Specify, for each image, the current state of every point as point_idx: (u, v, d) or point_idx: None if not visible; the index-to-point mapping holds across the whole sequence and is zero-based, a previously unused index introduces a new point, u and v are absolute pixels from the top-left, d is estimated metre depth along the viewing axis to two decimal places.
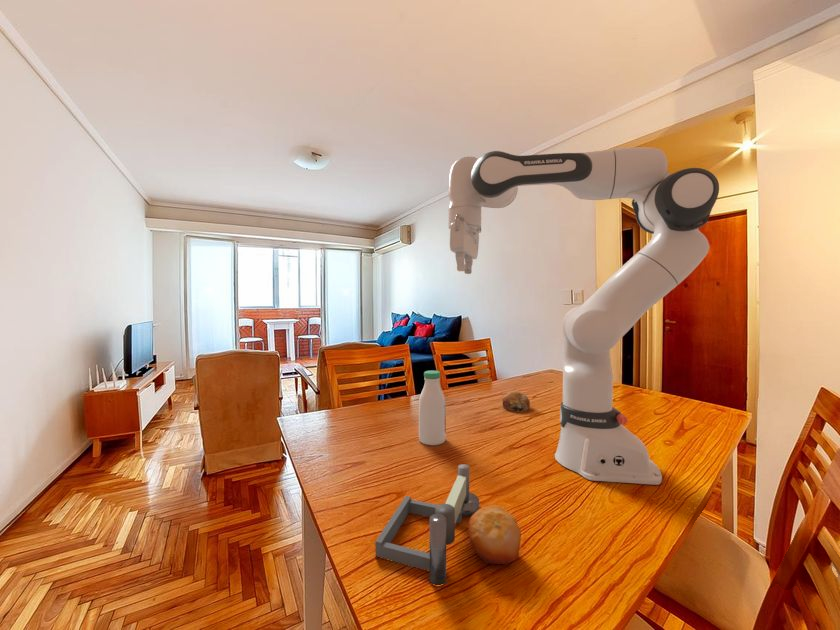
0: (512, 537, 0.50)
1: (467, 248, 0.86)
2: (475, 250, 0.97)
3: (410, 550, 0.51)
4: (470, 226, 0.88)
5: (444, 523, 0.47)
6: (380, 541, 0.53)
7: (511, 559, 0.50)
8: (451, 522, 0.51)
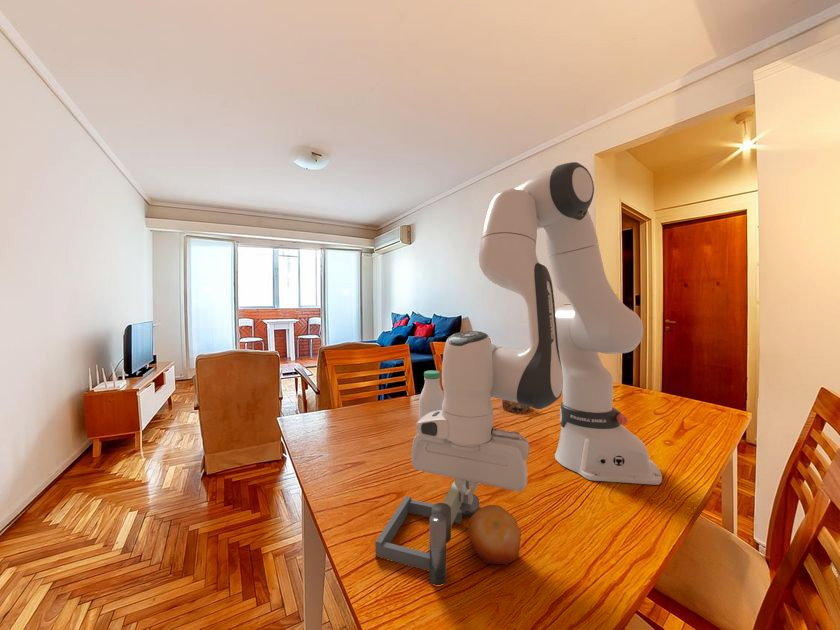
0: (512, 537, 0.50)
1: None
2: None
3: (410, 550, 0.51)
4: None
5: (444, 523, 0.47)
6: (380, 541, 0.53)
7: (511, 559, 0.50)
8: (447, 521, 0.51)
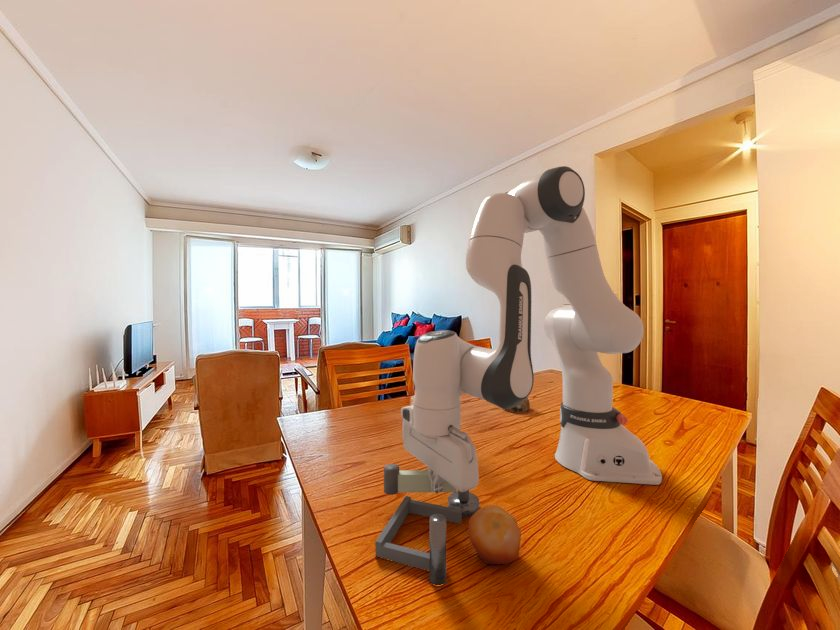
0: (511, 537, 0.50)
1: None
2: None
3: (410, 550, 0.51)
4: None
5: (444, 523, 0.47)
6: (380, 541, 0.53)
7: (511, 559, 0.50)
8: (386, 477, 0.64)
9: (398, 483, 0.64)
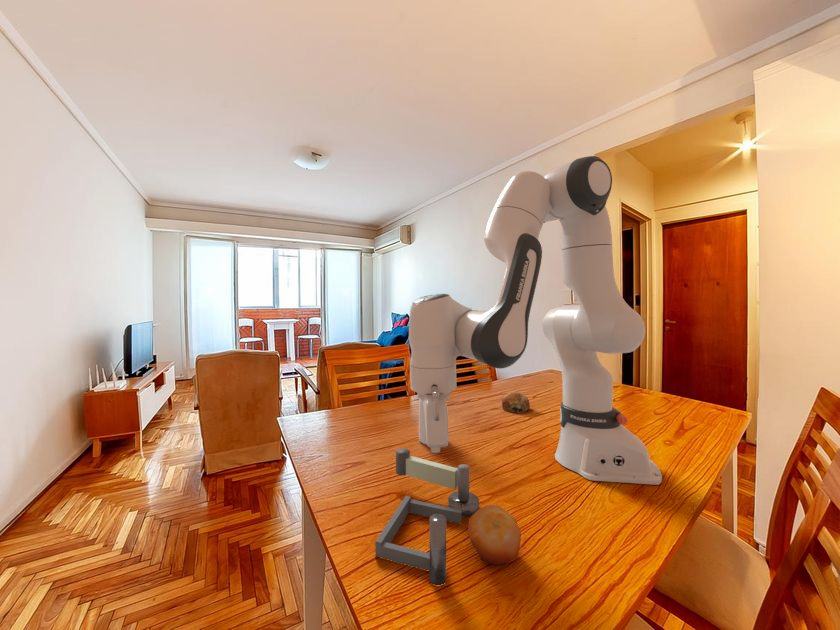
0: (512, 537, 0.50)
1: None
2: None
3: (410, 550, 0.51)
4: (445, 392, 0.62)
5: (444, 523, 0.47)
6: (380, 541, 0.53)
7: (511, 559, 0.50)
8: (396, 458, 0.71)
9: (406, 466, 0.71)
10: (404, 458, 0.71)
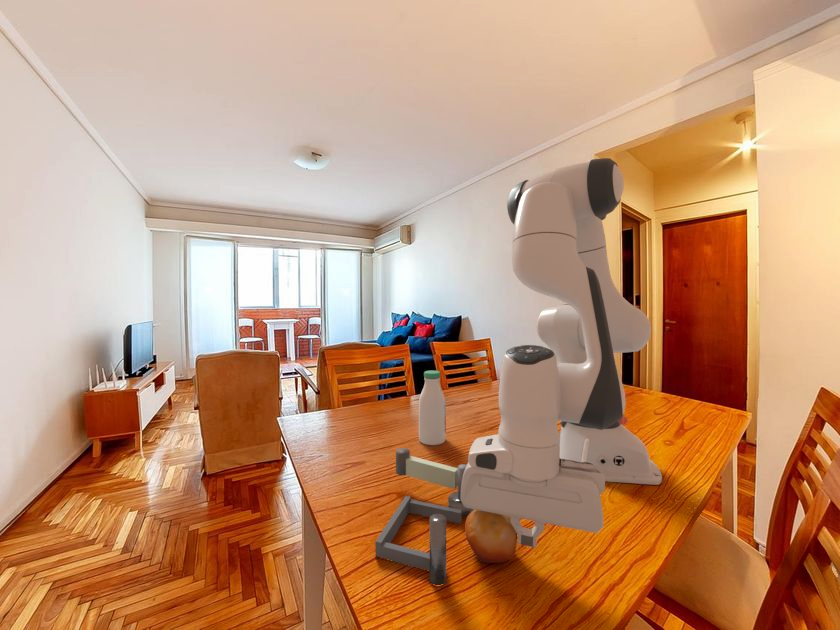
0: (508, 536, 0.50)
1: None
2: None
3: (410, 550, 0.51)
4: None
5: (444, 523, 0.47)
6: (380, 541, 0.53)
7: (507, 558, 0.50)
8: (396, 458, 0.71)
9: (406, 466, 0.71)
10: (404, 458, 0.71)
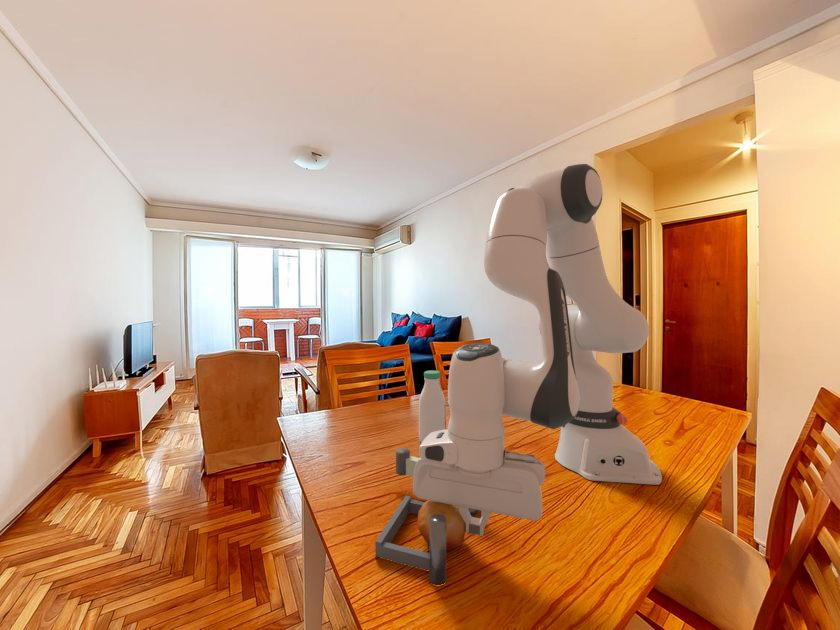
0: (456, 525, 0.53)
1: None
2: None
3: (410, 550, 0.51)
4: None
5: (444, 523, 0.47)
6: (380, 541, 0.53)
7: (455, 545, 0.52)
8: (396, 458, 0.71)
9: (406, 466, 0.71)
10: (404, 458, 0.71)
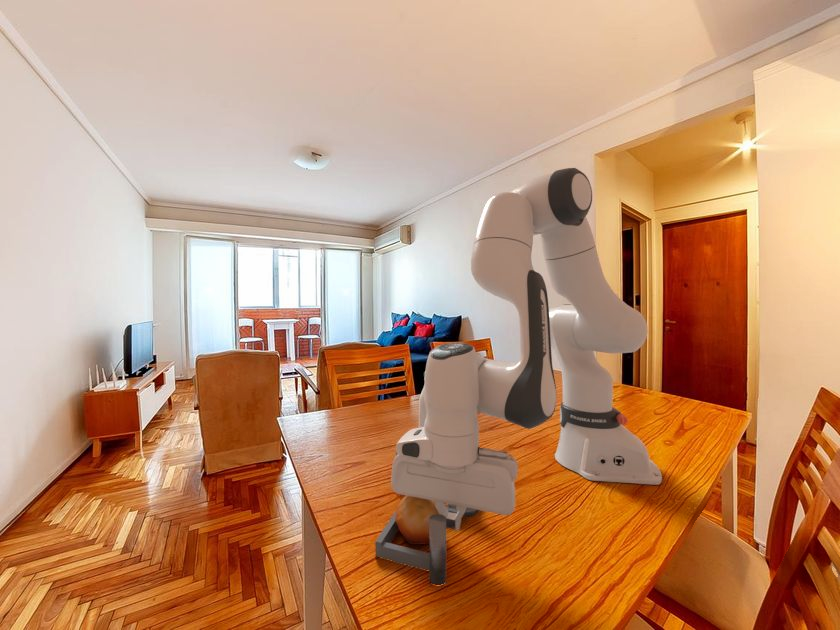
0: None
1: None
2: None
3: (410, 550, 0.51)
4: None
5: (444, 523, 0.47)
6: (380, 541, 0.53)
7: None
8: None
9: None
10: None
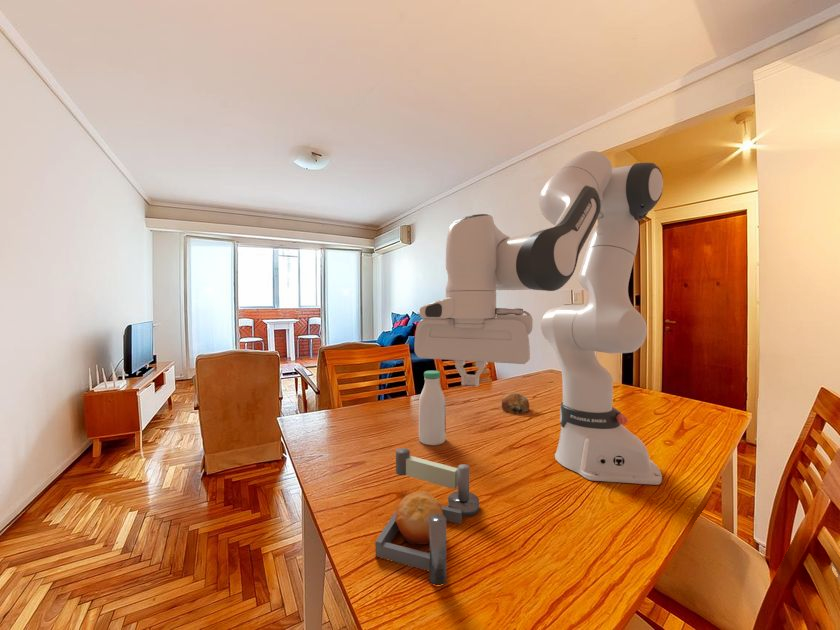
0: None
1: None
2: None
3: (410, 550, 0.51)
4: None
5: (444, 523, 0.47)
6: (380, 541, 0.53)
7: None
8: (396, 458, 0.71)
9: (406, 466, 0.71)
10: (404, 458, 0.71)
